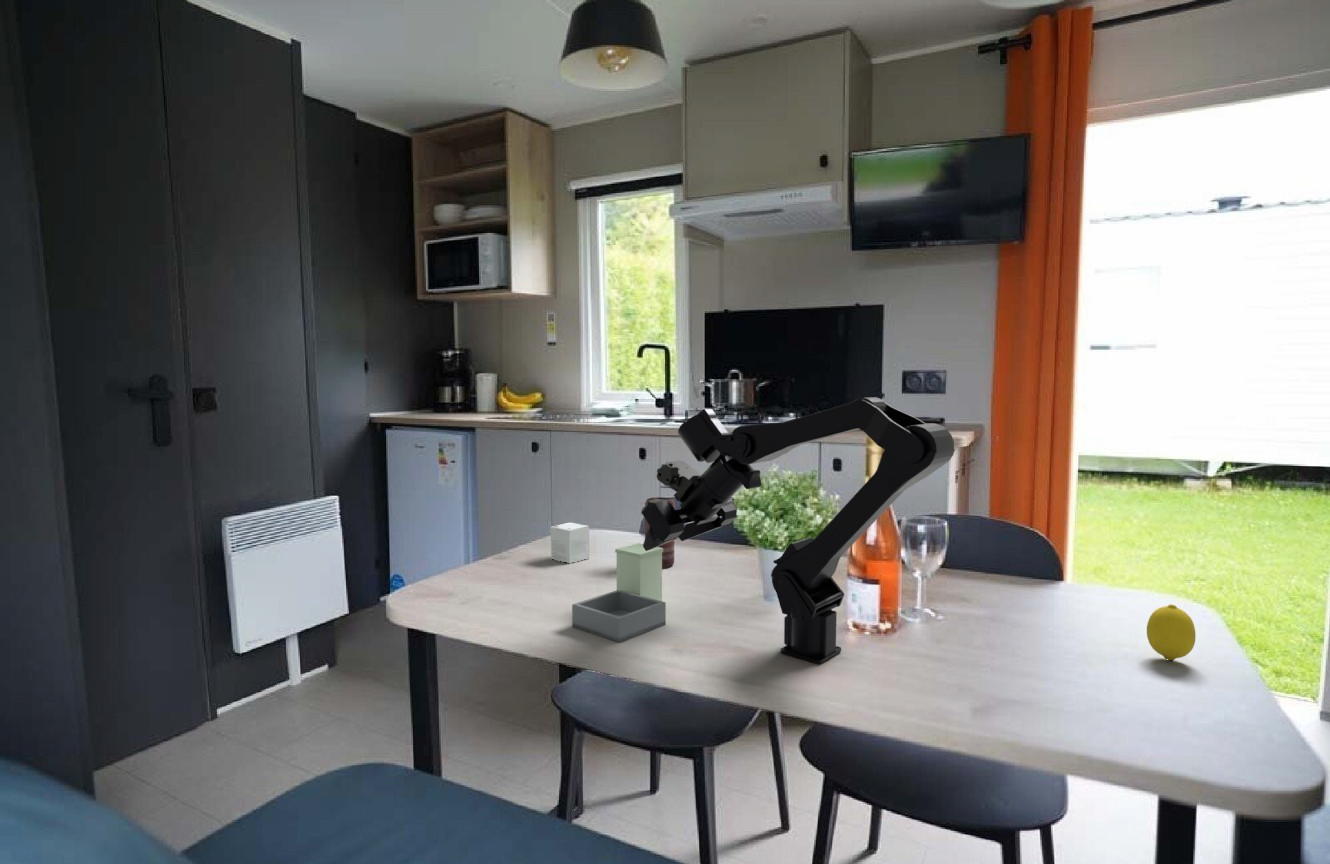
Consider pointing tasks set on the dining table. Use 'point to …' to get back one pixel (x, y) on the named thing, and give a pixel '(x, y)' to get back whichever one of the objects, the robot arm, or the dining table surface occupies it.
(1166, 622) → the lemon
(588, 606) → the crate
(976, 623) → the dining table surface
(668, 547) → the can
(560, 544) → the skincare box
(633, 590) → the small green box
